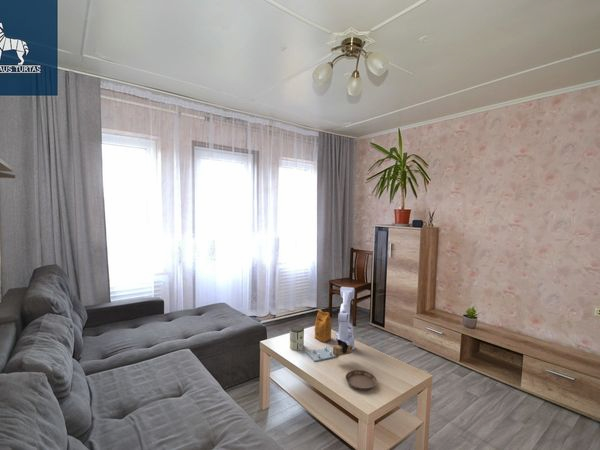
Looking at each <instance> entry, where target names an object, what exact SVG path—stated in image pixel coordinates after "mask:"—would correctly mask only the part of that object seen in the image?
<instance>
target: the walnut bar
mask: <svg viewBox="0 0 600 450" xmlns="http://www.w3.org/2000/svg"><path fill="white" fill-rule="evenodd" d="M332 348H333V349H332V350H333V354H334V355H335V356H336V357H335V358H338V357H341V356H346V355H349V354H353V350H352V345H351V344H350V345H349V346H348V348H347V352H346V353H343V348H342V345H338V344H337V345H334V346H332ZM337 356H338V357H337Z"/></svg>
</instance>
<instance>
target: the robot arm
mask: <svg viewBox="0 0 600 450" xmlns="http://www.w3.org/2000/svg"><path fill="white" fill-rule="evenodd" d="M340 297H341V298H342V303H341V304H340V308H339V312H338V314H337V315H338V317H337V320H338V332H336V333H335V336H336V342H337V345H342V348H343V353H346V352H347V348H348V346H349V345H350V344H351V345H352V351H354V350H356V349H355V337H354V325H353V324H352V323H350V318H351V317H350V316H351V301H352V300H354V298H355V287H349V286H348V287H347V286H341V287H340Z"/></svg>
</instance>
